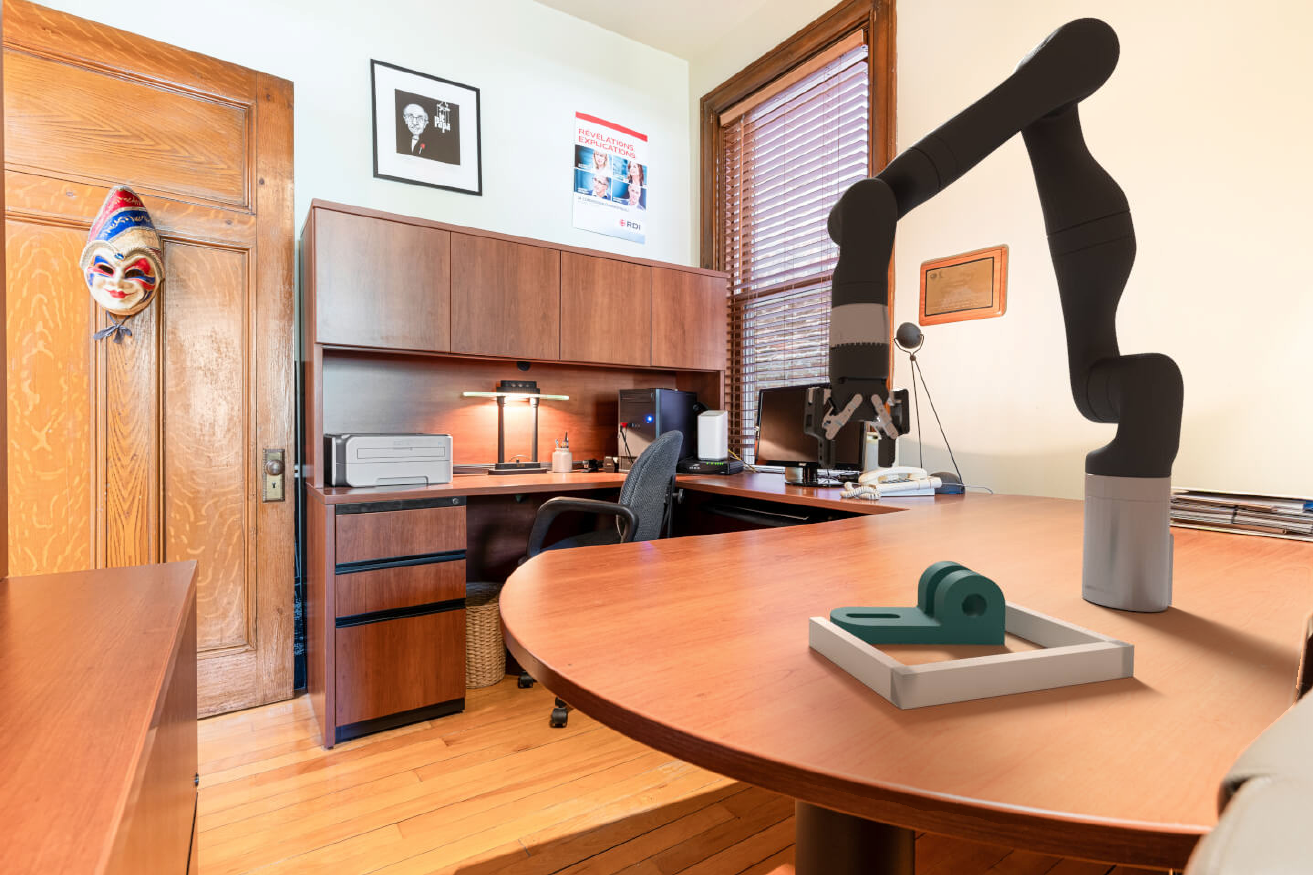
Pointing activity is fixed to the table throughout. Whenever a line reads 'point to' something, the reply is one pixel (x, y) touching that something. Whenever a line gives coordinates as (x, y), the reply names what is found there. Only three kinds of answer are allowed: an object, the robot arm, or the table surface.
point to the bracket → (935, 612)
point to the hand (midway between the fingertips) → (856, 468)
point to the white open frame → (982, 662)
